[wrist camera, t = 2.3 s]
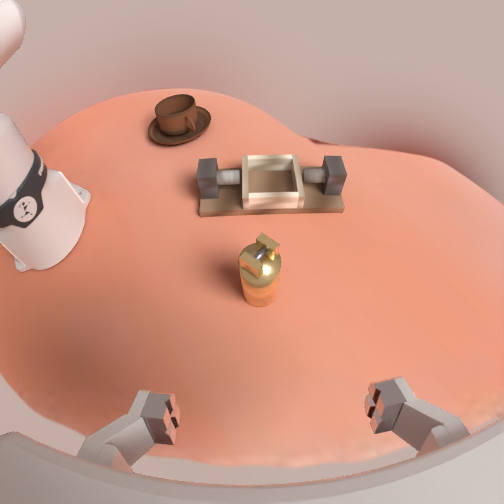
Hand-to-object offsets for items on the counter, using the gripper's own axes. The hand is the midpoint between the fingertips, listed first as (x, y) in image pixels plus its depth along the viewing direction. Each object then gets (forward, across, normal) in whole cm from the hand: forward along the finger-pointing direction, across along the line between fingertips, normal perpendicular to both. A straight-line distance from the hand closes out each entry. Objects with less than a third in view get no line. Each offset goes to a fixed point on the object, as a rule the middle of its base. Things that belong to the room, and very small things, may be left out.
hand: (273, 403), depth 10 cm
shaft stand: (+34, -2, -6) cm, 34 cm away
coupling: (+23, 0, +5) cm, 24 cm away
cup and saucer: (+46, +14, -18) cm, 51 cm away
